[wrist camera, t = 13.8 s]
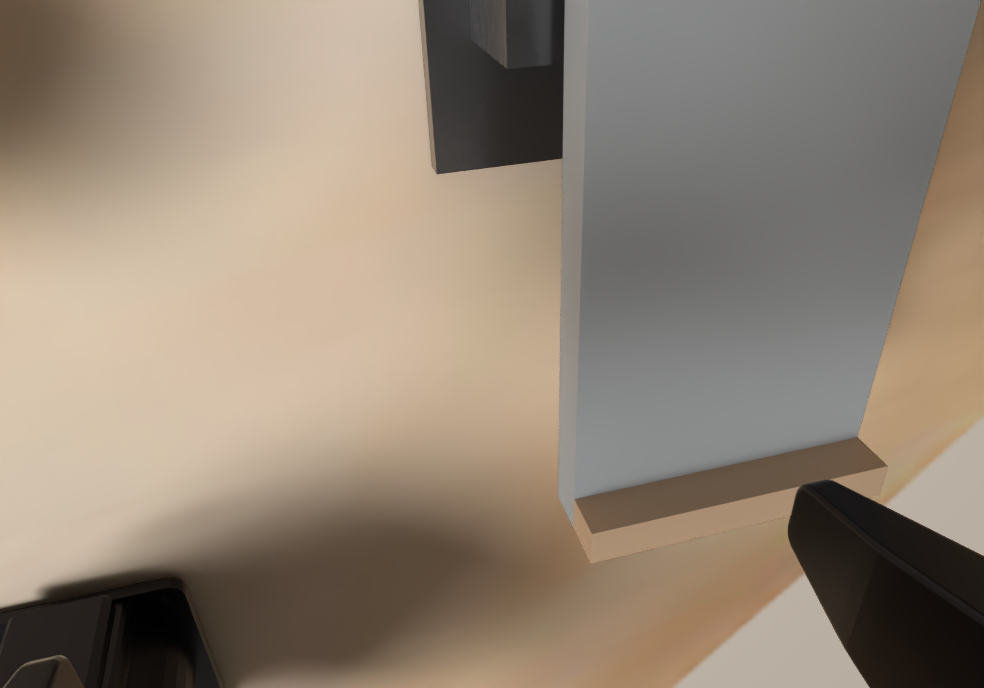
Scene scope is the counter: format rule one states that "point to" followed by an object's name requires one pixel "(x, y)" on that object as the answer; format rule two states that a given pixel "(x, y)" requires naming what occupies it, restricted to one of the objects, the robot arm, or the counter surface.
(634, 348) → the beam
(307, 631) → the counter surface
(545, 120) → the pivot stand
